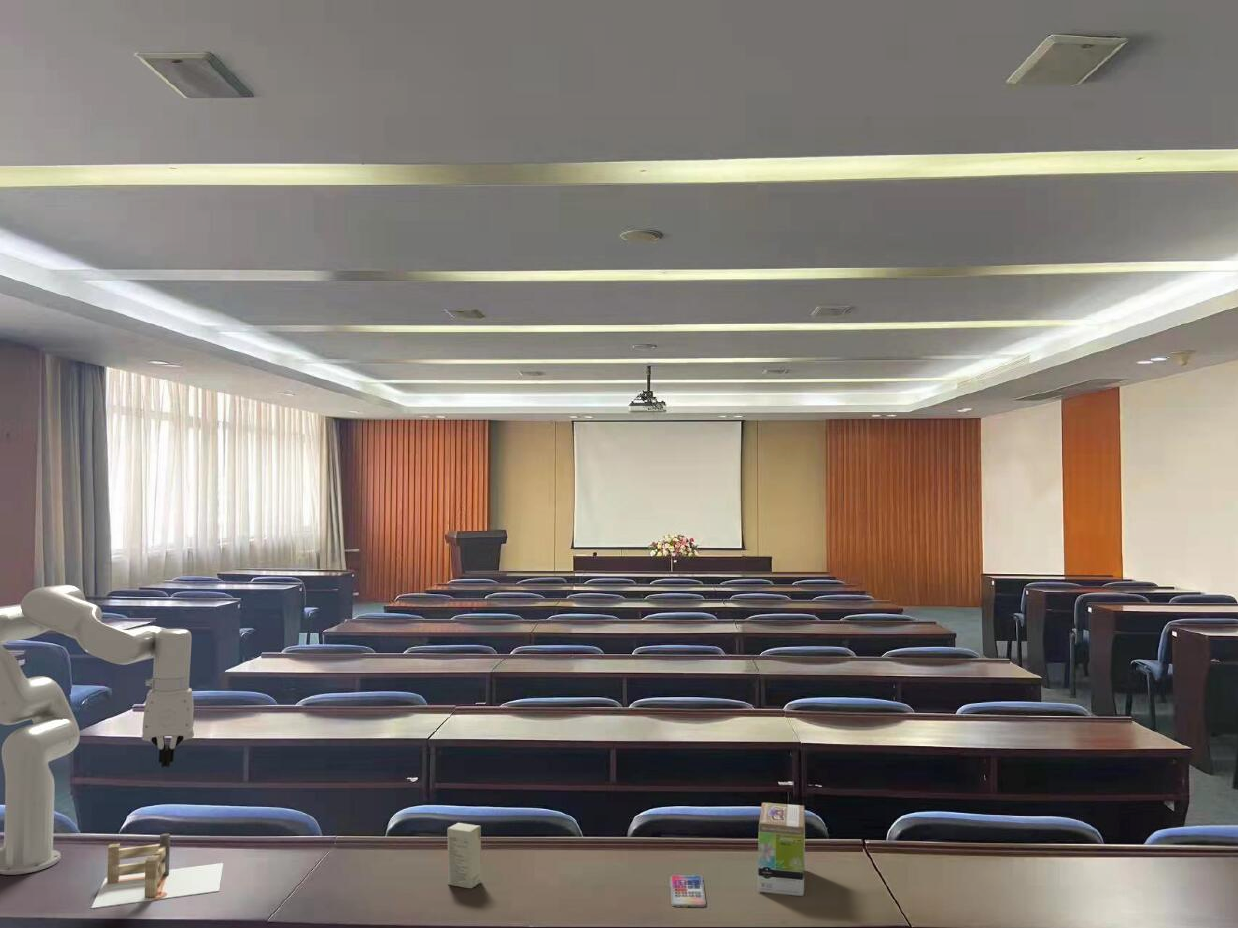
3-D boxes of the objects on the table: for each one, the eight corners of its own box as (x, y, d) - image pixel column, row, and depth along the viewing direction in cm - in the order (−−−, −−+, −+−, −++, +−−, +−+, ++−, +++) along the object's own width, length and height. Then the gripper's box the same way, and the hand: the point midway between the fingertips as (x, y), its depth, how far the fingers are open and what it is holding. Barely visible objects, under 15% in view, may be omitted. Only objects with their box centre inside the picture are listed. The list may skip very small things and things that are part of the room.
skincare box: (482, 882, 199) (482, 825, 200) (470, 889, 195) (471, 831, 196) (457, 877, 202) (458, 821, 202) (446, 884, 198) (446, 827, 198)
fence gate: (157, 876, 201) (158, 842, 201) (167, 875, 201) (168, 841, 201) (144, 897, 190) (145, 861, 190) (155, 896, 190) (155, 860, 191)
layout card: (91, 909, 186) (91, 907, 186) (105, 878, 201) (105, 877, 201) (219, 891, 194) (219, 890, 194) (223, 863, 209) (223, 862, 209)
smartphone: (671, 904, 187) (669, 874, 202) (671, 909, 187) (669, 879, 202) (706, 904, 187) (702, 874, 202) (707, 909, 187) (702, 879, 202)
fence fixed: (107, 885, 197) (108, 843, 198) (108, 881, 199) (109, 839, 200) (168, 877, 202) (169, 836, 202) (169, 873, 203) (170, 833, 204)
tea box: (805, 897, 192) (804, 826, 192) (757, 893, 194) (757, 822, 194) (805, 869, 206) (804, 803, 207) (760, 865, 208) (760, 800, 209)
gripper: (131, 688, 201) (126, 772, 200) (204, 686, 206) (200, 768, 205) (137, 681, 208) (132, 762, 207) (208, 679, 213) (204, 759, 212)
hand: (166, 765), depth 206 cm, fingers closed
